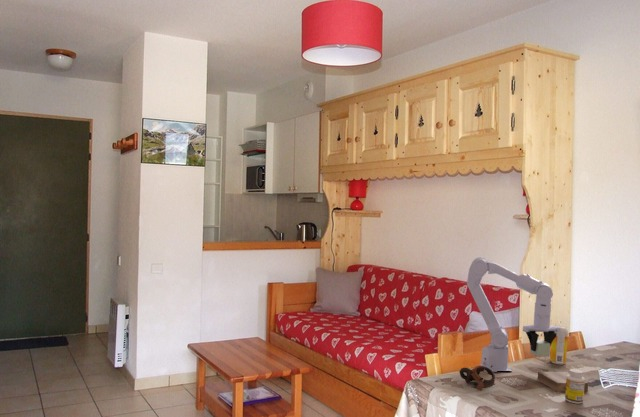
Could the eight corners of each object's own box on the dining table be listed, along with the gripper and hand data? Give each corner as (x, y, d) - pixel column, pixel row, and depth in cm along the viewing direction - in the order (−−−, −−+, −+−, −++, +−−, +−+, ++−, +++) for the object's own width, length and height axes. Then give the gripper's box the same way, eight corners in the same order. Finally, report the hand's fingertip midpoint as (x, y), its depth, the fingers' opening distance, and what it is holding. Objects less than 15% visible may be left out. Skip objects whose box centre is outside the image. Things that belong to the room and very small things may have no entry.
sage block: (537, 356, 209) (538, 343, 208) (530, 352, 213) (530, 340, 213) (549, 356, 210) (550, 343, 210) (541, 352, 214) (542, 340, 214)
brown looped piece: (489, 384, 199) (497, 368, 195) (488, 403, 191) (496, 387, 187) (456, 372, 201) (464, 356, 197) (454, 390, 193) (462, 374, 189)
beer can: (562, 361, 233) (565, 326, 233) (567, 365, 227) (570, 329, 227) (548, 360, 234) (550, 324, 233) (552, 364, 228) (555, 328, 227)
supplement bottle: (567, 396, 189) (569, 367, 188) (585, 401, 185) (587, 371, 185) (562, 400, 184) (564, 370, 184) (580, 405, 181) (582, 374, 181)
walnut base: (557, 391, 194) (558, 383, 193) (537, 380, 205) (538, 372, 205) (587, 391, 196) (588, 382, 196) (566, 379, 208) (566, 371, 208)
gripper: (531, 317, 206) (528, 353, 206) (565, 317, 209) (563, 353, 209) (520, 313, 213) (518, 348, 213) (554, 313, 216) (552, 348, 216)
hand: (539, 350), depth 212 cm, fingers closed on sage block, 5 cm apart
